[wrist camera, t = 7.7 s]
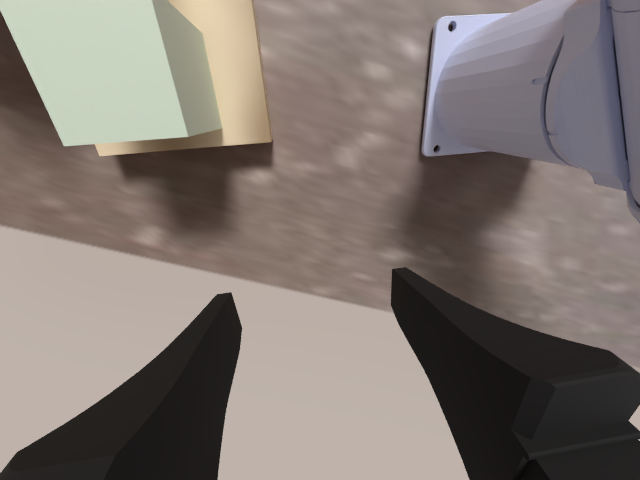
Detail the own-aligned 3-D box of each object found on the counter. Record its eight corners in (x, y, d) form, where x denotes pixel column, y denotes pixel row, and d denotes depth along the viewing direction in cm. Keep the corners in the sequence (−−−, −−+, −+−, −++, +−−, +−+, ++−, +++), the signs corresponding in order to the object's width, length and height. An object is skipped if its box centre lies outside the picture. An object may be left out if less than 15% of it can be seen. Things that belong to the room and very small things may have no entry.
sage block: (202, 33, 14) (146, -19, 8) (222, 128, 16) (188, 136, 10) (110, 37, 13) (-11, -14, 8) (142, 134, 15) (64, 146, 10)
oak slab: (254, 6, 15) (250, -8, 13) (273, 139, 18) (271, 142, 16) (66, 15, 14) (34, 1, 12) (119, 151, 17) (99, 156, 15)
